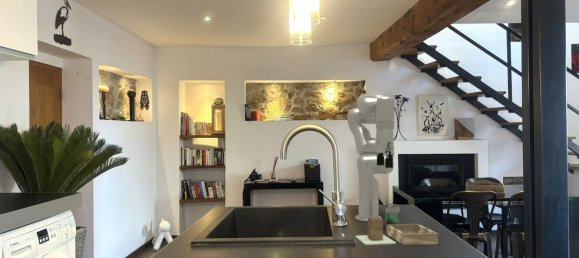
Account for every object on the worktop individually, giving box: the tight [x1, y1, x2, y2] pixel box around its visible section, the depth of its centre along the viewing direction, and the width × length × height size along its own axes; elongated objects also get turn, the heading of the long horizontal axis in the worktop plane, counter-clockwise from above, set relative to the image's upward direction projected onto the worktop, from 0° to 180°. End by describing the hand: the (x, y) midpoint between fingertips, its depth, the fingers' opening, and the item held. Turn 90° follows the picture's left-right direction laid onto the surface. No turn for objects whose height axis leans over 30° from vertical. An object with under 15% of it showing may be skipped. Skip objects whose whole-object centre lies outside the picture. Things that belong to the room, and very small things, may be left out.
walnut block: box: [367, 217, 384, 241], centre depth 157 cm, size 4×4×8 cm
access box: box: [386, 223, 439, 246], centre depth 160 cm, size 17×14×4 cm
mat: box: [355, 234, 397, 246], centre depth 157 cm, size 12×12×1 cm
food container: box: [384, 203, 401, 232], centre depth 177 cm, size 12×6×10 cm, turn 168°
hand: (384, 166), depth 171 cm, fingers open, 9 cm apart
